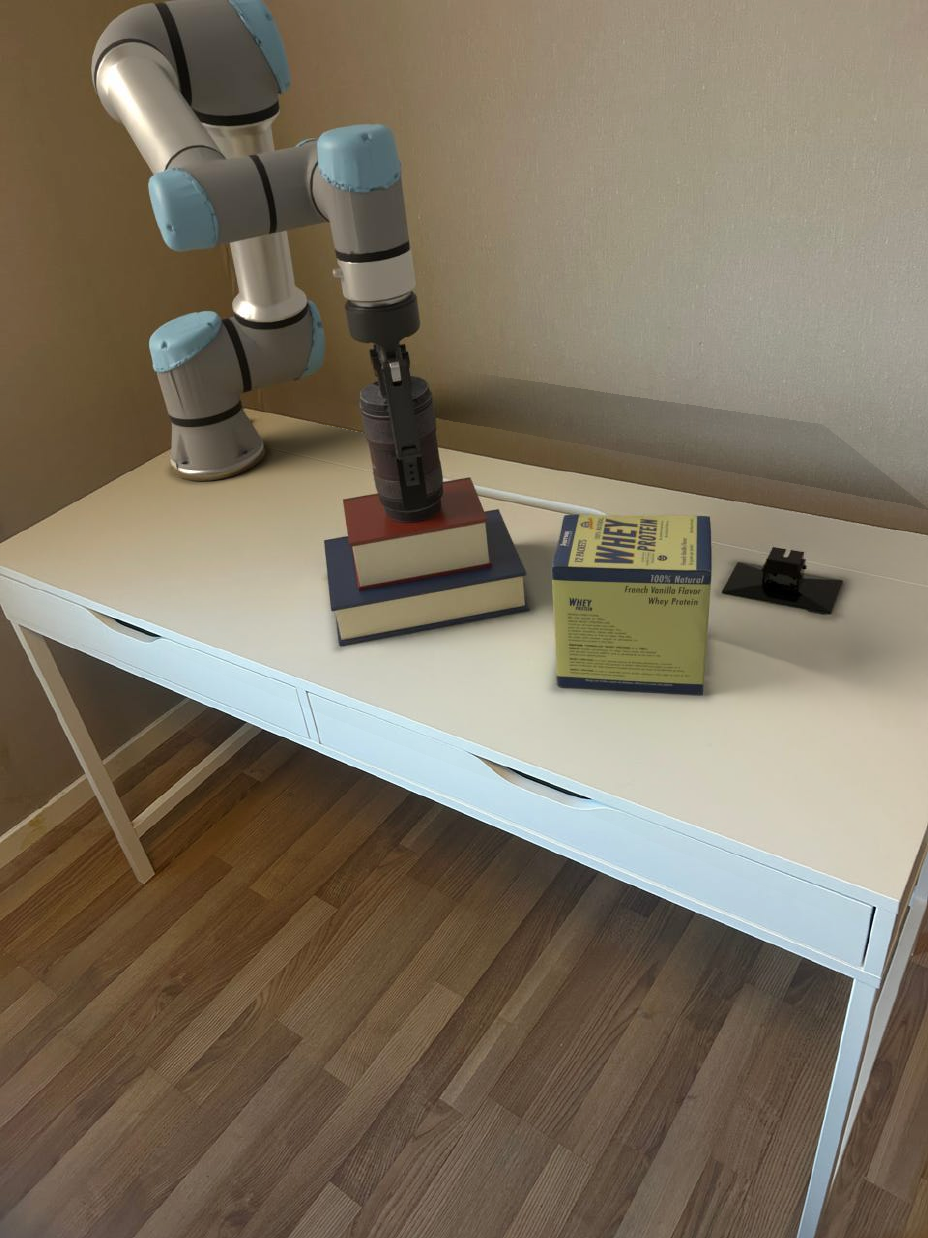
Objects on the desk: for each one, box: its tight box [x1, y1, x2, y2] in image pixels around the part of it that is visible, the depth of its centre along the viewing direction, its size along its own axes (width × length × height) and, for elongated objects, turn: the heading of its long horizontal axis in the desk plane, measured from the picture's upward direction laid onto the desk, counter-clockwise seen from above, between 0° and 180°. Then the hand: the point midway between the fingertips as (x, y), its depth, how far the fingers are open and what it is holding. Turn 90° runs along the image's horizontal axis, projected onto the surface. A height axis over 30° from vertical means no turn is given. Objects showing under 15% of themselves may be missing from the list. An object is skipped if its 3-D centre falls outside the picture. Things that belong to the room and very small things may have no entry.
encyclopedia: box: [323, 508, 530, 647], centre depth 116 cm, size 16×23×6 cm
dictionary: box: [342, 476, 492, 591], centre depth 112 cm, size 11×16×6 cm
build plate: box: [721, 546, 844, 616], centre depth 109 cm, size 12×7×5 cm, turn 61°
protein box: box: [550, 514, 713, 696], centre depth 97 cm, size 10×16×16 cm
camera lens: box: [358, 375, 444, 522], centre depth 106 cm, size 8×8×15 cm
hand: (408, 481), depth 108 cm, fingers open, 13 cm apart
